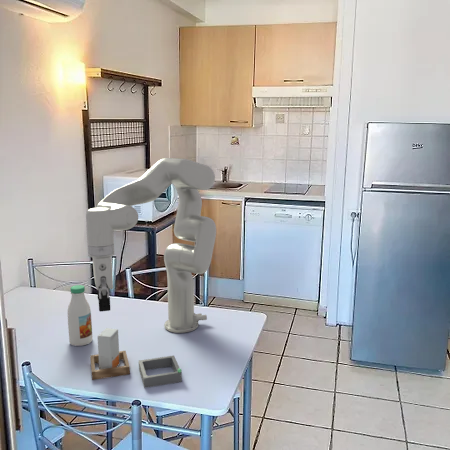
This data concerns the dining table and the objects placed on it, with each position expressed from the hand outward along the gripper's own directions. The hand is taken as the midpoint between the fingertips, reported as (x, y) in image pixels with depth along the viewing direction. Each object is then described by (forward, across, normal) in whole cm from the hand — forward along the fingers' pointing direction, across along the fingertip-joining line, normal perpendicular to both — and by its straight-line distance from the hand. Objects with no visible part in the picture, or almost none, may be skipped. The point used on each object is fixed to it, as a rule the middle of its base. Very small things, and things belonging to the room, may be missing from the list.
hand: (103, 304), depth 145 cm
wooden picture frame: (+21, -1, -1) cm, 21 cm away
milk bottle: (+21, +21, +8) cm, 31 cm away
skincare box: (+21, -1, -1) cm, 21 cm away
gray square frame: (+21, -9, -15) cm, 27 cm away
